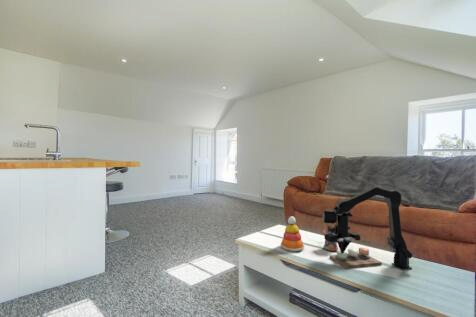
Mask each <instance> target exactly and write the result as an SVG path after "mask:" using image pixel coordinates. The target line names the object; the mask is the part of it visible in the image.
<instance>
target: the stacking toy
mask: <svg viewBox="0 0 476 317" xmlns="http://www.w3.org/2000/svg"><path fill="white" fill-rule="evenodd" d="M287 223H288V224H287V225H286V226H285V229H284V233H283V236H282V237H283V238H282V240H281V243H280V247H281V248H282V249H284V250H286V251H289V252H299V251H302V250H304V249H305V245H304V243H303V240H302V234H301V233H300V228H299V227H298V226H297V224H296V223H297V221H296V218H295V216H293V215H292V216H289V218H288V219H287Z"/></svg>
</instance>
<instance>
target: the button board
mask: <svg viewBox="0 0 476 317" xmlns="http://www.w3.org/2000/svg"><path fill="white" fill-rule="evenodd" d="M329 259H330V260H332V261H333V262H335V263H336V264H338V265H339V266H341V267H343V269H345V270H347V269H356V268H368V267H375V266H376V267H377V266H382V265H383V264H382V261H380V260H378V259H376V258H375V257H373V256H370V254H369V255H361V254H359V252H358V256H351V255H349V254H348V253H347V259H339V258H338V257H337V254H331V255H329Z"/></svg>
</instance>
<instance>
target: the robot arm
mask: <svg viewBox="0 0 476 317" xmlns="http://www.w3.org/2000/svg"><path fill="white" fill-rule="evenodd" d="M375 196H380V197H383V199H384V201H385V203H386V205H387V209H388V216H389V226H390V235H388V236H386V239H387V245H388V246H389V247H390V248H391V250H392V252H394V254H393V262H392V263H391V266H394V267H396V268H398V269H399V270H402V271H403V270H412V269H413V267H412V266H410V259H412V257H413V253H411V252H410V251H409V249H408V246H407V244H406V241H405V239H404V237H403V235H402V232H403V231H402V226H401V224H402V223H401V216H400V214H401V213H400V206H401V203H402V194H401V192H399V191H398V190H394V189H382V188H381V187H378V186H372V187H370V188H368V189H366V190H364V191H362V192H360V193H357V194H356V195H354V196H351V197H349V198H348V197H347V198H343V199H340V200H338V201H337V202H336V205H335V207H334V208H333V209H332V210H326V209H324V210H322V211H323V213H322V217H321V219H322V223H323V224H335V223H336V224H335V225H334V227H333V225H327V229H326V230H328V232H331V233H334V234H337V235H333V234H325V236H324V237H323V238H324V240H325V239H326V240H328V241H330V242H337V246H338V247H339V248H338V249H339V251H341V253H344V252H346V249H347V248H348V246H349V245H350V244H351V243H352V240H351V239H354V240H355V241H356V242H357V241H361V235H360V234H359V233H357V232H356V233H355V232H354V231H353V232H352V231H351V232H349V230H351V227H350V226H349V225H350V224H349V218H350V217H354V215H353V214H352V213H351V212H350V211H351V210H353V208H355V206H357V205H359V204H361V203H363V202H365V201H367V200H369V199H371V198H373V197H375Z"/></svg>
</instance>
